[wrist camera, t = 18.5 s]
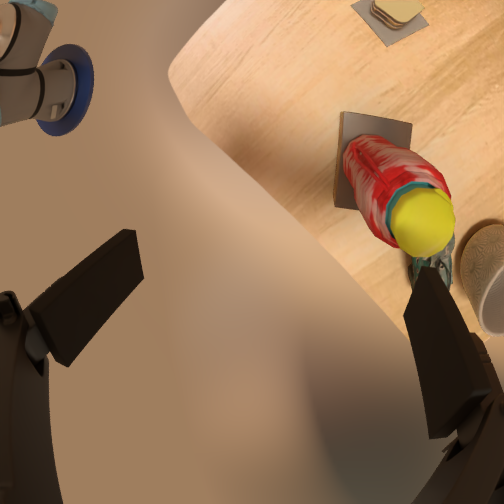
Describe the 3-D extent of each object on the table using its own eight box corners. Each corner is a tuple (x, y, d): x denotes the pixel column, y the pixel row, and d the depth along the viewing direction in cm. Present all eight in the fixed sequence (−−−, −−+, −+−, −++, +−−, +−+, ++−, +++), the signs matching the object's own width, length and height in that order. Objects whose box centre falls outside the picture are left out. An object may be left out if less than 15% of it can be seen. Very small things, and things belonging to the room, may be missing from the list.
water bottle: (419, 178, 35) (513, 264, 14) (382, 213, 39) (435, 330, 18) (363, 116, 34) (430, 125, 12) (325, 155, 38) (333, 219, 16)
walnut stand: (333, 195, 46) (334, 207, 41) (340, 111, 39) (343, 111, 34) (390, 203, 44) (398, 216, 39) (401, 121, 37) (412, 123, 32)
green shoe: (386, 182, 43) (425, 231, 25) (421, 175, 40) (476, 218, 23) (401, 282, 50) (426, 360, 33) (431, 275, 48) (465, 348, 31)
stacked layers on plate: (394, -16, 25) (401, -28, 21) (429, 25, 28) (440, 16, 23) (350, 5, 30) (353, -7, 25) (386, 47, 32) (395, 39, 27)
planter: (506, 197, 37) (551, 230, 24) (516, 266, 41) (550, 308, 28) (439, 235, 44) (472, 281, 31) (458, 301, 49) (482, 351, 35)
